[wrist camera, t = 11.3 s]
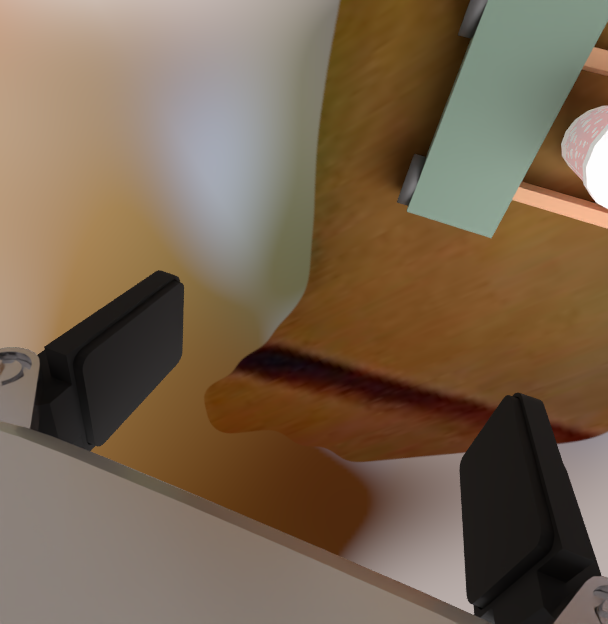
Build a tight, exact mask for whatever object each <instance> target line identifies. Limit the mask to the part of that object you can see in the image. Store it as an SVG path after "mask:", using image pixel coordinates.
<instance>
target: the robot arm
mask: <svg viewBox="0 0 608 624" xmlns="http://www.w3.org/2000/svg"><path fill="white" fill-rule="evenodd" d="M183 305H184V285H183V284H182V283H180V280H179V277H177V276H175V275H172V274H169V273H166V272H163V271H159V270H158V271H156V272H154V273H153V274H152V275H150V276H149V277H147V278H146V279H144V280H143V281H141V282H140V283H138V284H137V285H135V286H134V287H132V288H131V289H129V290H128V291H126V292H125V293H123V294H122V295H120V296H119V297H117V298H116V299H114V300H113V301H112V302H110V303H109V304H107V305H106V306H104V307H103V308H101V309H100V310H98V311H97V312H95V313H94V314H92V315H91V316H89V317H88V318H86V319H85V320H83V321H82V322H81V323H79V324H77V325H76V326H74V327H73V328H72V329H70V330H69V331H67V332H66V333H64V334H63V335H61V336H60V337H58V338H57V339H55V340H54V341H52V342H51V343H50V344H48V345H46V346H45V347H44V348H45V350H44V351H42V352H41V353H39V354H38V355H36V354H35V353H34V352H32V351H30V350H28V349H24V348H17V347H7V348H1V349H0V624H608V578H607V577H604V576H601V573H600V570H599V567H598V564H597V560H596V557H595V554H594V551H593V548H592V545H591V542H590V539H589V537H588V533H587V530H586V527H585V524H584V521H583V518H582V515H581V512H580V509H579V506H578V503H577V500H576V497H575V494H574V491H573V488H572V485H571V482H570V479H569V476H568V473H567V470H566V468H565V466H564V464H563V461H562V458H561V455H560V452H559V450H558V446H557V443H556V440H555V437H554V434H553V431H552V428H551V425H550V422H549V419H548V416H547V413H546V410H545V407H544V404H543V402H542V401H541V400H539V399H536V398H533V397H530V396H527V395H524V394H521V393H515V394H514V395H513V396H510V395H507V396H505V397H504V399H503V400H502V401H501V403H500V404H499V406H498V407H497V409H496V410H495V411H494V413H493V414H492V416H491V417H490V419H489V420H488V421H487V423H486V424H485V426H484V427H483V429H482V430H481V431H480V433H479V434H478V436H477V437H476V439H475V440H474V441H473V443H472V444H471V446H470V447H469V448H468V450H467V451H466V453H465V454H464V456H463V457H462V460H461V463H460V486H461V504H462V521H463V538H464V557H465V574H466V592H467V599H468V601H469V602H470V603H471V604H473V605H474V615H472V614H470V613H468V612H466V611H463V610H461V609H459V608H457V607H455V606H452V605H450V604H448V603H446V602H443V601H441V600H439V599H437V598H434V597H432V596H430V595H428V594H425V593H423V592H421V591H419V590H416V589H414V588H412V587H410V586H407V585H405V584H402V583H400V582H398V581H396V580H393V579H391V578H389V577H386V576H384V575H382V574H379V573H377V572H375V571H372V570H370V569H367V568H365V567H363V566H361V565H358V564H356V563H354V562H351V561H349V560H347V559H344V558H342V557H340V556H337V555H335V554H333V553H330V552H328V551H326V550H324V549H321V548H319V547H316V546H314V545H312V544H309V543H307V542H305V541H302V540H300V539H298V538H295V537H293V536H291V535H288V534H286V533H284V532H281V531H279V530H277V529H274V528H272V527H269V526H267V525H265V524H262V523H260V522H258V521H255V520H253V519H251V518H248V517H246V516H243V515H241V514H239V513H236V512H234V511H232V510H229V509H227V508H225V507H222V506H220V505H217V504H215V503H213V502H210V501H208V500H206V499H203V498H201V497H199V496H196V495H194V494H192V493H189V492H187V491H184V490H182V489H179V488H177V487H175V486H172V485H170V484H168V483H165V482H163V481H160V480H158V479H156V478H153V477H151V476H148V475H146V474H144V473H141V472H139V471H136V470H134V469H131V468H129V467H127V466H124V465H122V464H120V463H117V462H115V461H112V460H110V459H108V458H105V457H103V456H100V455H98V454H95V453H93V452H90V451H91V450H92V449H93V448H94V447H95V446H101V445H103V444H104V443H105V442H106V440H108V438H109V437H110V436H111V435H112V434H113V433H114V432H115V431H116V429H118V428H119V426H120V425H121V424H122V423H123V422H124V421H125V420H126V419H127V418H128V417H129V416H130V415H131V413H132V412H133V411H134V410H135V409H136V408H137V407H138V406H139V405H140V404H141V403H142V402H143V400H144V399H145V398H146V397H147V396H148V395H149V394H150V393H151V392H152V391H153V390H154V389H155V387H156V386H157V385H158V384H159V383H160V382H161V381H162V380H163V379H164V378H165V377H166V375H167V374H168V373H169V372H170V371H171V370H172V369H173V368H174V367H175V366H176V365H177V363H178V362H179V360H180V358H181V356H182V344H183V343H182V342H183Z"/></svg>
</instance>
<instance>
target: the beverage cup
mask: <svg viewBox="0 0 608 624" xmlns="http://www.w3.org/2000/svg"><path fill="white" fill-rule="evenodd" d="M561 148H562V157H563V158H564V160H565V161H566V163H567V164H568V166H569V167H570V168H571V169H572V170H573V171H574V172H575V173H576V174H577V175H578V176H579V178H580V179H581V180H582V181H583V184H584V186H585V187H586V189H587V190H588V192H589V194H590V195H591V197H592V198H593V199H594V200H595V202H596V203H598V204H600V205H601V206H603V207H605V208H607V209H608V106H601V107H598V108H594V109H591V110H588V111H587V112H585V113H584V114H582V115H581V116H580V117H578V118H577V119H575V120H574V122H573V123H572V124H571V125H570V127H569V128H568V129H567V130H566V132H565V135H564V138H563V141H562V143H561Z"/></svg>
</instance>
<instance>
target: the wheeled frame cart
mask: <svg viewBox="0 0 608 624" xmlns="http://www.w3.org/2000/svg"><path fill="white" fill-rule="evenodd" d="M607 22H608V0H470V3H469V5H468V8H467V11H466V14H465V16H464V19H463V22H462V25H461V27H460V30H459V33H458V35H459V36H463V37H467V38H471V40H470V43H469V45H468V48H467V50H466V53H465V56H464V58H463V61H462V64H461V66H460V69H459V71H458V74H457V77H456V79H455V82H454V85H453V87H452V90H451V92H450V95H449V98H448V100H447V103H446V105H445V108H444V111H443V113H442V116H441V119H440V121H439V124H438V126H437V129H436V132H435V134H434V137H433V139H432V142H431V145H430V147H429V150H428V153H427V155H426V157H424V156H421V155H417V154H414V156H413V159H412V162H411V165H410V167H409V170H408V173H407V175H406V178H405V181H404V184H403V187H402V189H401V192H400V195H399V198H398V201H397V202H398V203H401V204H404V205H407V206H408V208H407V212H410V213H413V214H416V215H420V216H423V217H426V218H429V219H432V220H436V221H439V222H442V223H445V224H448V225H451V226H455V227H458V228H461V229H464V230H467V231H470V232H474V233H477V234H480V235H483V236H486V237H489V238H492V236H493V234H494V232H495V230H496V229H497V227H498V225H499V223H500V221H501V219H502V217H503V215H504V214H505V212H506V210H507V208H508V206H509V204H510V202H511V201H512V200H515V201H518V202H521V203H525V204H528V205H531V206H535V207H538V208H541V209H545V210H548V211H551V212H555V213H558V214H561V215H565V216H568V217H571V218H575V219H578V220H581V221H584V222H588V223H591V224H594V225H598V226H601V227H604V228H608V209H607V208H605V207H603V206H601V205H600V204H597V203H593V202H590V201H587V200H583V199H580V198H576V197H573V196H570V195H566V194H563V193H559V192H556V191H553V190H549V189H546V188H542V187H539V186H536V185H532V184H529V183H525V182H522V180H523V178H524V176H525V174H526V173H527V171H528V169H529V167H530V165H531V163H532V161H533V160H534V158H535V156H536V154H537V152H538V150H539V148H540V146H541V145H542V143H543V141H544V139H545V137H546V135H547V133H548V132H549V130H550V128H551V126H552V124H553V122H554V120H555V118H556V117H557V115H558V113H559V111H560V109H561V107H562V105H563V104H564V102H565V100H566V98H567V96H568V94H569V92H570V91H571V89H572V87H573V85H574V83H575V81H576V79H577V77H578V76H579V74H580V72H581V70H586V71H590V72H594V73H598V74H602V75H606V76H608V50H604V49H600V48H596V47H594V46H595V44H596V42H597V40H598V38H599V36H600V35H601V33H602V31H603V29H604V27H605V25H606V23H607Z"/></svg>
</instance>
